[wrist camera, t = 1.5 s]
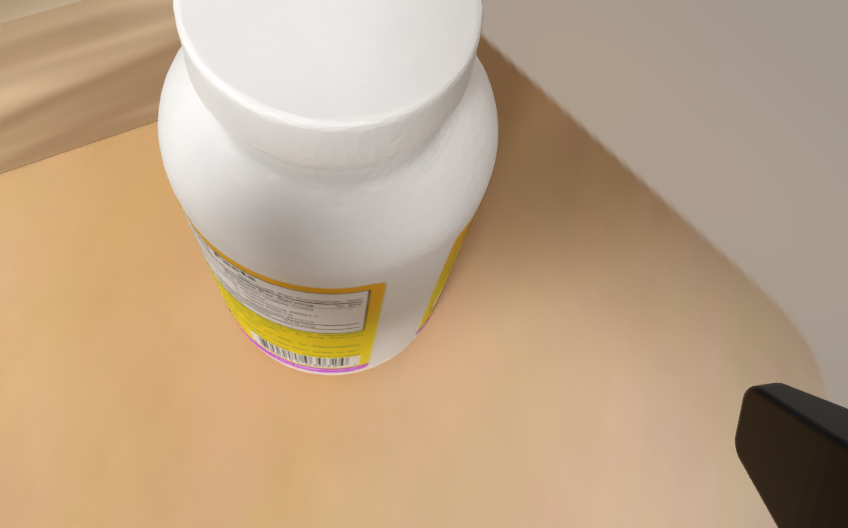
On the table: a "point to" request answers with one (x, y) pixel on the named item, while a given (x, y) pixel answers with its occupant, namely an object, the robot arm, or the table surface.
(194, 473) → the table surface
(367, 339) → the supplement bottle
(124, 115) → the birch backstop wall
